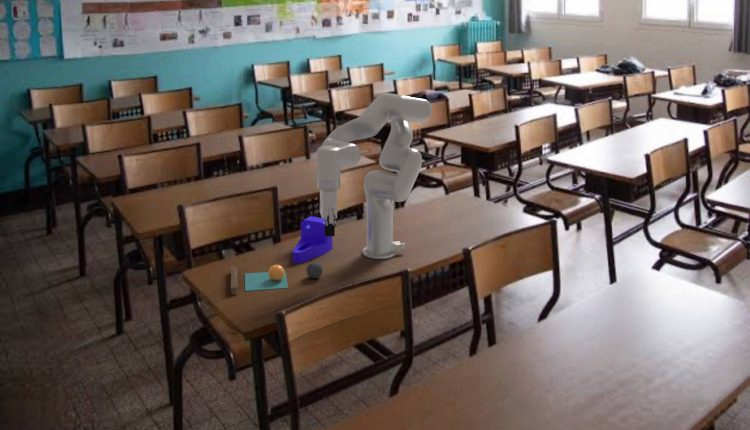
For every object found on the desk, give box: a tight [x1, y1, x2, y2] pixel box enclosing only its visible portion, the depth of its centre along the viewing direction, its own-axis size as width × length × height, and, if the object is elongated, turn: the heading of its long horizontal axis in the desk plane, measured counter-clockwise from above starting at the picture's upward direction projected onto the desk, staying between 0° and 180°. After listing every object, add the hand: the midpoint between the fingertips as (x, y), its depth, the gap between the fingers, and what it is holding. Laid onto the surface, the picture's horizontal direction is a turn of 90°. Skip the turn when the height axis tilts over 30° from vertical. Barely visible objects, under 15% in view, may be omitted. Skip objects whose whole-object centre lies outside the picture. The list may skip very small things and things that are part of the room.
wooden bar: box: [230, 265, 239, 296], centre depth 243 cm, size 2×18×2 cm, turn 10°
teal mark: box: [244, 270, 289, 292], centre depth 245 cm, size 14×14×1 cm
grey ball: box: [305, 261, 323, 279], centre depth 247 cm, size 6×6×6 cm
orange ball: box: [267, 264, 286, 281], centre depth 245 cm, size 6×6×6 cm
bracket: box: [292, 216, 334, 264], centre depth 266 cm, size 18×11×12 cm, turn 155°
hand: (329, 235), depth 244 cm, fingers closed
